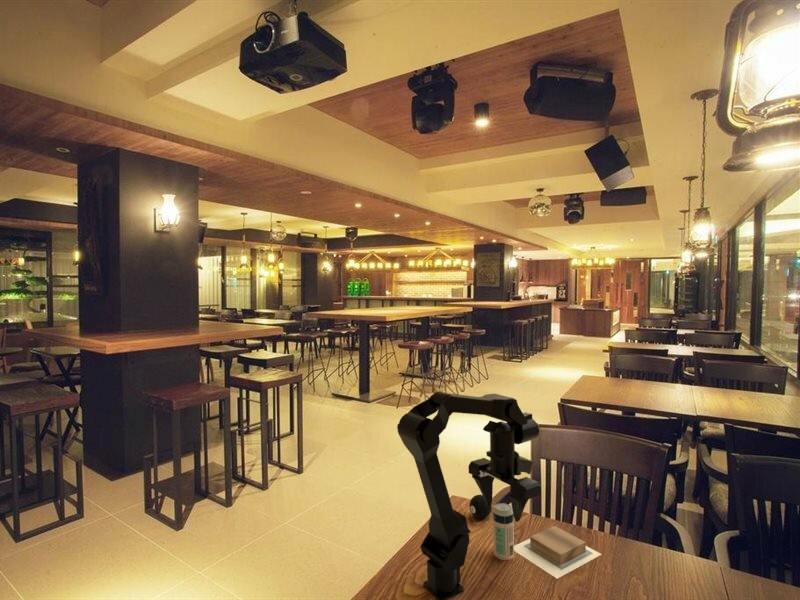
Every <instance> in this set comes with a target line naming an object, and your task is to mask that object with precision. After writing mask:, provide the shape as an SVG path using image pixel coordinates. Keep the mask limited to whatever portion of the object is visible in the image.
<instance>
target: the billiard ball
mask: <svg viewBox="0 0 800 600" xmlns="http://www.w3.org/2000/svg"><path fill="white" fill-rule="evenodd" d="M492 506H493V505H490V506H488V505H487V503H486V501H485V499H484V497H483V495H482V494H476V495H474V496H473V497H472V498H471V499H470V501H469V511H470V513H471V514H472V515H473V516H474V517H475V518H477V519H486V518H488V517H489V516H490V514H491V512H492V510H493V508H492Z"/></svg>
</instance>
